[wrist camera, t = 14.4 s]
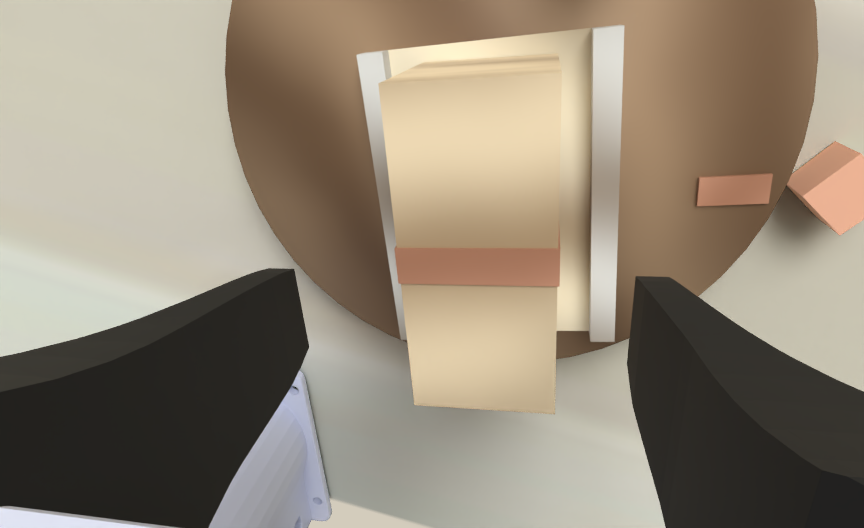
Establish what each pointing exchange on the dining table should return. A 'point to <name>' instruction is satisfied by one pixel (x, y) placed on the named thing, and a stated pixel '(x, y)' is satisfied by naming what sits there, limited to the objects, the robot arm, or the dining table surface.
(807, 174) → the salmon block
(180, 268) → the dining table surface
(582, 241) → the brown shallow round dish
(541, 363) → the oak link block
